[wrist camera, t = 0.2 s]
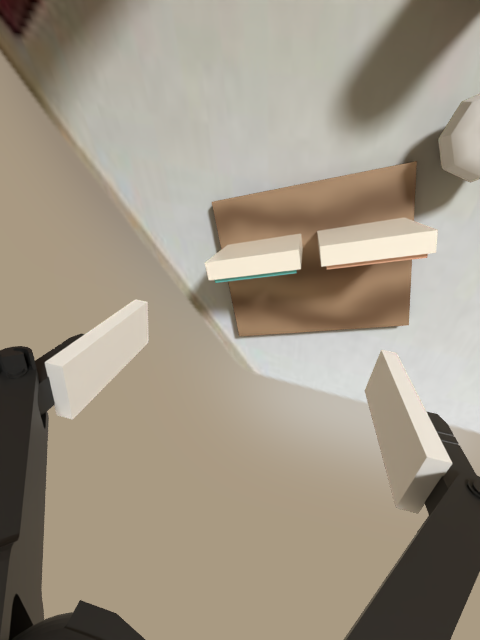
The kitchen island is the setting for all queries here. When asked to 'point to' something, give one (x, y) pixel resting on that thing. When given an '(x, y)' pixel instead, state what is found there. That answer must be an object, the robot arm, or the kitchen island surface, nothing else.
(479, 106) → the apple
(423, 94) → the kitchen island surface
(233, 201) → the board
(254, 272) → the square block
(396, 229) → the tile cream
